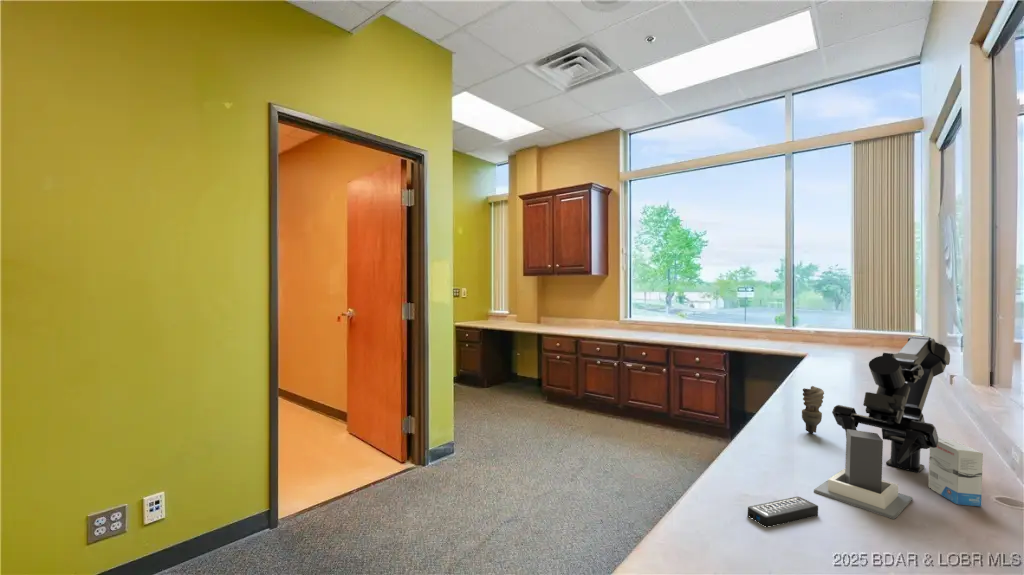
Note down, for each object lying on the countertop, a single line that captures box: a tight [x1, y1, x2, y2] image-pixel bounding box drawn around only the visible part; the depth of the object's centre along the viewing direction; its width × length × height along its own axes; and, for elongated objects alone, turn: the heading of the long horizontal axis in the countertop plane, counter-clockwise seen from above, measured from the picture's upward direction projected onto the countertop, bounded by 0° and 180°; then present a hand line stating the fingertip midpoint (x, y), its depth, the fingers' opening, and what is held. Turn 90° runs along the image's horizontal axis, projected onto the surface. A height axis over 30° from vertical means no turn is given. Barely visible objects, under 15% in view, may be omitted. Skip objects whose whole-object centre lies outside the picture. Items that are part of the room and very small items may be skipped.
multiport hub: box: [747, 496, 819, 528], centre depth 89 cm, size 4×14×2 cm, turn 110°
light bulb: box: [801, 385, 825, 434], centre depth 139 cm, size 6×6×15 cm
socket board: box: [813, 468, 913, 520], centre depth 98 cm, size 14×14×3 cm
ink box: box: [928, 437, 984, 507], centre depth 99 cm, size 8×5×12 cm, turn 168°
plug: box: [844, 429, 884, 494], centre depth 98 cm, size 6×6×13 cm
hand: (872, 455), depth 102 cm, fingers open, 9 cm apart
